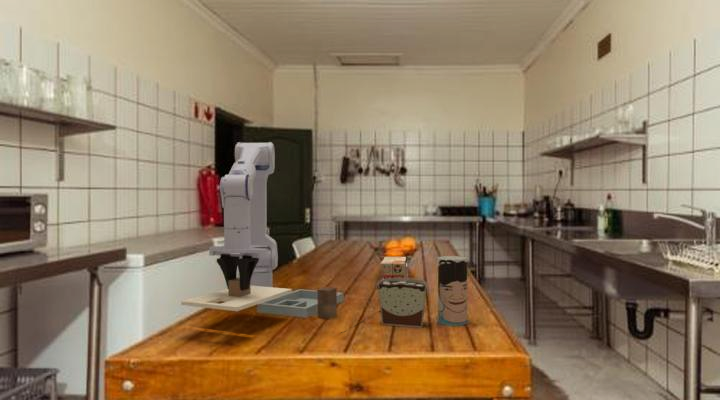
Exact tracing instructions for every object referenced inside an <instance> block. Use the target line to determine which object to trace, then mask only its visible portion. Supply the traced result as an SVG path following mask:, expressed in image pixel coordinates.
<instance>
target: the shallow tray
mask: <svg viewBox="0 0 720 400" xmlns="http://www.w3.org/2000/svg"><path fill="white" fill-rule="evenodd" d="M344 301H345V293H344V292H337V305H338V304H340V303H344ZM256 306H257V307H256V310H257V311H256V312H257V313H258V314H266V315H267V314H268V315H276V316H284V317H293V318H294V317H295V318H303V319H308V318H309V317H312V316H314V315H316V314H318V298H317V290H315V289H314V290H313V289H303V288H302V289H301V288H299V289H297V290H292V293H289V294H286V295H283V296H280V297H277V298H274V299H272V300H269V301H266V302H263V303H260V304H257V305H256Z"/></svg>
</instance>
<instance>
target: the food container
mask: <svg viewBox="0 0 720 400" xmlns="http://www.w3.org/2000/svg"><path fill="white" fill-rule="evenodd" d="M375 290H376V291H377V290H378V298H379V307H380V315H381V316H380V317H381V324H382V325H386V326H387V325H388V326H395V327H396V326H397V327H410V328H412V327H413V328H424V327H423V325H424V316H425V304H426V295H427V293H428V294H429V286H428V284H427V281H425V280H423V279H417V278H412V277H411V278H410V277H408V278H390V279H383V280H381V279H380V280H377V283H376V287H375Z"/></svg>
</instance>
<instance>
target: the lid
mask: <svg viewBox="0 0 720 400" xmlns="http://www.w3.org/2000/svg"><path fill="white" fill-rule="evenodd" d="M228 288H229V289H228ZM228 288H226V289H222V290H217V291H213V292H210V293H207V294H203V295H199V296H195V297H193V298H192V297H191V298H188V299H184V300H181V301H180V303H181V304H180V305H181V306H187V307H188V306H189V307H194V308H195V307H196V308H204V309H205V308H208V309H212V310H225V311H233V312H239V311H242V310H245V309H248V308H251V307H254V306H257V304H260V303H263V302H266V301H269V300H272V299H274V298H277V297H280V296H283V295H286V294H289V293H292V292H293V288H285V287H284V288H283V287H263V286H251V280H250V285H249V289H247V290H241V289H240V277H239V278H235V279H231V280H228ZM219 302H222V303H219Z"/></svg>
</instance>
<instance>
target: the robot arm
mask: <svg viewBox="0 0 720 400" xmlns="http://www.w3.org/2000/svg"><path fill="white" fill-rule="evenodd" d="M275 152H276V151H275V144H274V143H273V142H271V141H269V142H241V141H239V142H236V144H235V147H234V159H235V161H234V163H233V165H232V166H231V169H230V170H229V172H228V174H225V175H224V176H222V177H221V178H220V182H219V189H220V191H219V192H220V198H221V206H222V208H223V230H224V231H223V235H224V237H223V238H224V241H223V244H224V246H220V245H219V246H218V245H217V246H216V245H215V246H209V247H208V252H209V253H208V255H209V256H211V257H212V256H213V257H214V256H220V257H219V258H216V263H217V265H218V266H219V267H220V270H221V272H222V274H223V276H224V279H225V285H226V289H229V288H228V280H231V279H235V278H239V277H240V289H241V290H247V289H249V285H250V280H251V286H263V287H273V270H275V269H276V268H277V267H278V262H279V261H278V260H279V255H278V243H277V241H276V240H275V239H274V238H272V237H271V236H270V235H269V234H267V233H268V232H267V231H268V228H267V227H268V225H267V223H268V222H267V221H268V220H267V219H268V218H267V216H268V215H267V211H268V209H267V208H268V207H267V205H268V204H267V201H268V200H267V199H268V198H267V196H268V195H267V193H268V192H267V191H268V190H267V186H268V185H267V183H268V178H269V176H270V175H272V174H273V173H274V172H275V168H276V166H275V164H276V162H275V160H276V159H275V158H276V155H275ZM237 271H238V272H237ZM237 273H238V275H237Z"/></svg>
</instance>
